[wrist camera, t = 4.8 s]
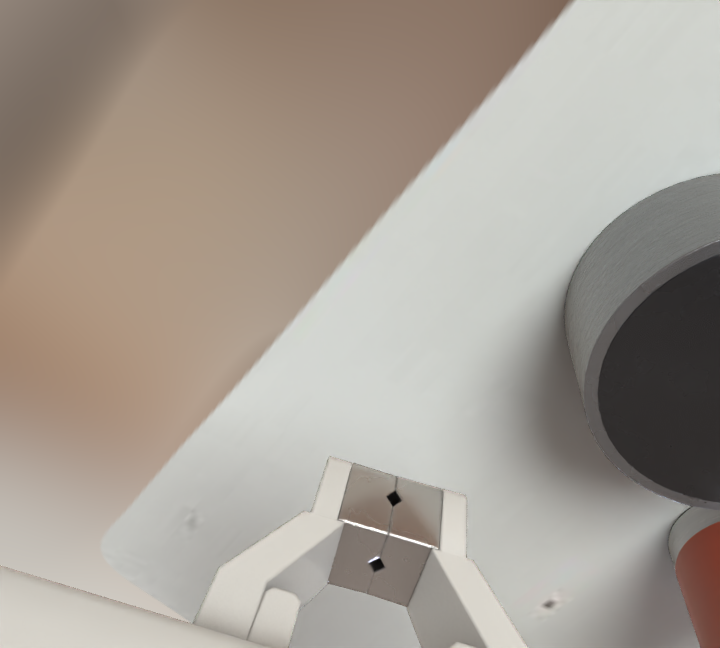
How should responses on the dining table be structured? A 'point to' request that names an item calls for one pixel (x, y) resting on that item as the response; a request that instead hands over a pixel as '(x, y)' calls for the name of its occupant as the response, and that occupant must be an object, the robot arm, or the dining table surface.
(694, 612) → the tin can
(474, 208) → the dining table surface
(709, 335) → the steel pot
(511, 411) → the dining table surface
